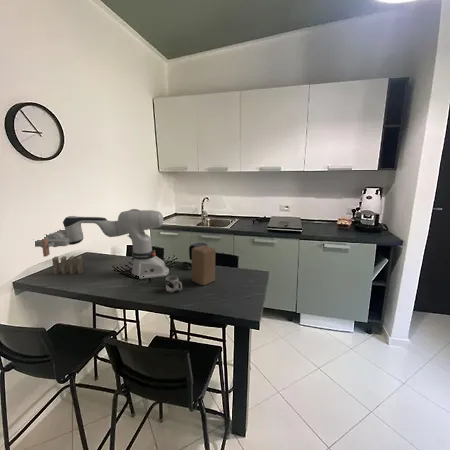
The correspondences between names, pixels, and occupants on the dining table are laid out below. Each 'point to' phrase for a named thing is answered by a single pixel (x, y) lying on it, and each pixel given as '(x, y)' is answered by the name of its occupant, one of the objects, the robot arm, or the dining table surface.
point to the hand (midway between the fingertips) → (44, 246)
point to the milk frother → (191, 254)
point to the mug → (173, 284)
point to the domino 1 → (45, 249)
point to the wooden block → (203, 265)
